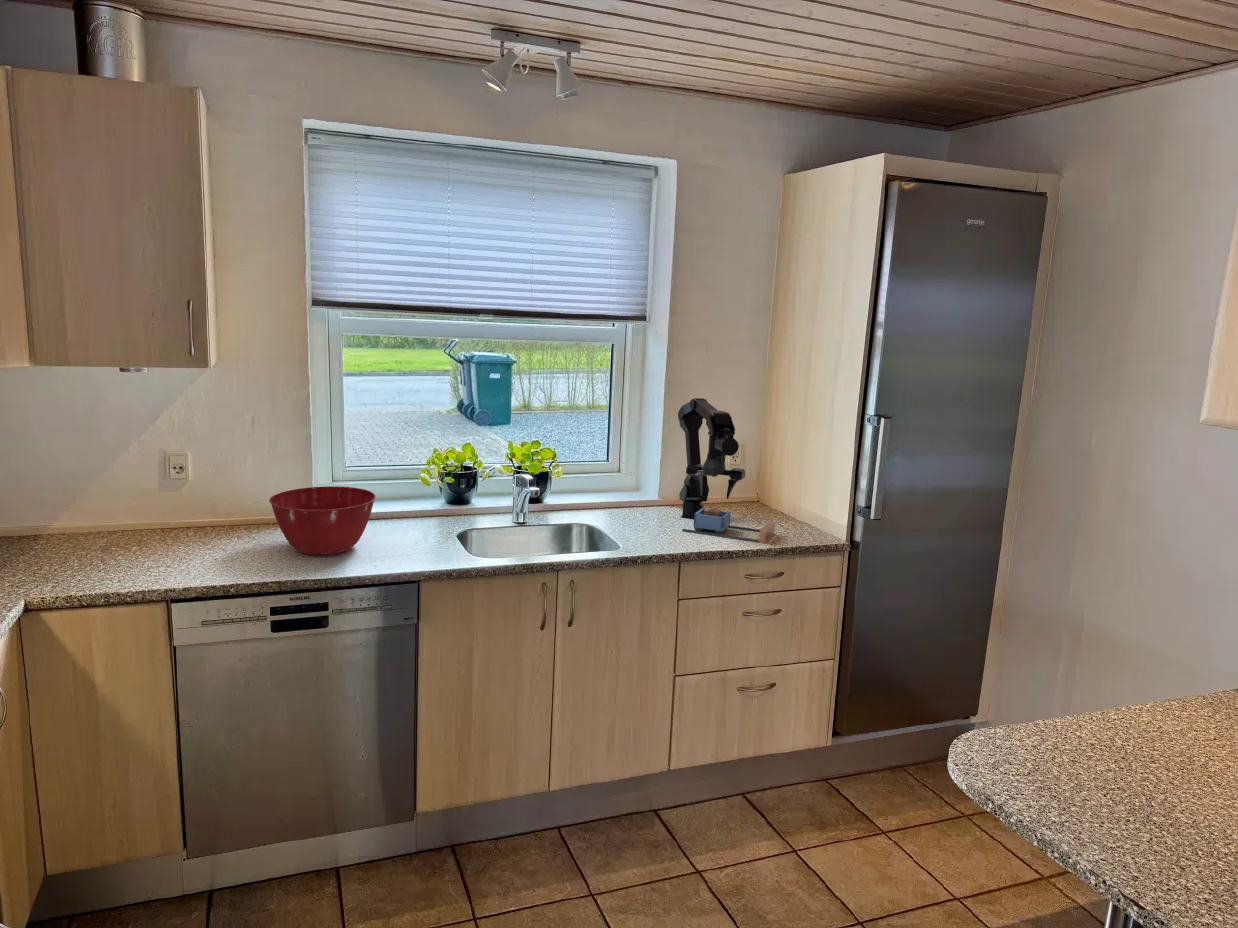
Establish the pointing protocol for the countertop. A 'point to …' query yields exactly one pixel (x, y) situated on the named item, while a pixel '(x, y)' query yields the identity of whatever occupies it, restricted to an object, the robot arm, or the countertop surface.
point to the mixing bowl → (323, 517)
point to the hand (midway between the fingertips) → (713, 497)
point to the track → (764, 532)
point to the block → (712, 512)
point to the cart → (711, 521)
